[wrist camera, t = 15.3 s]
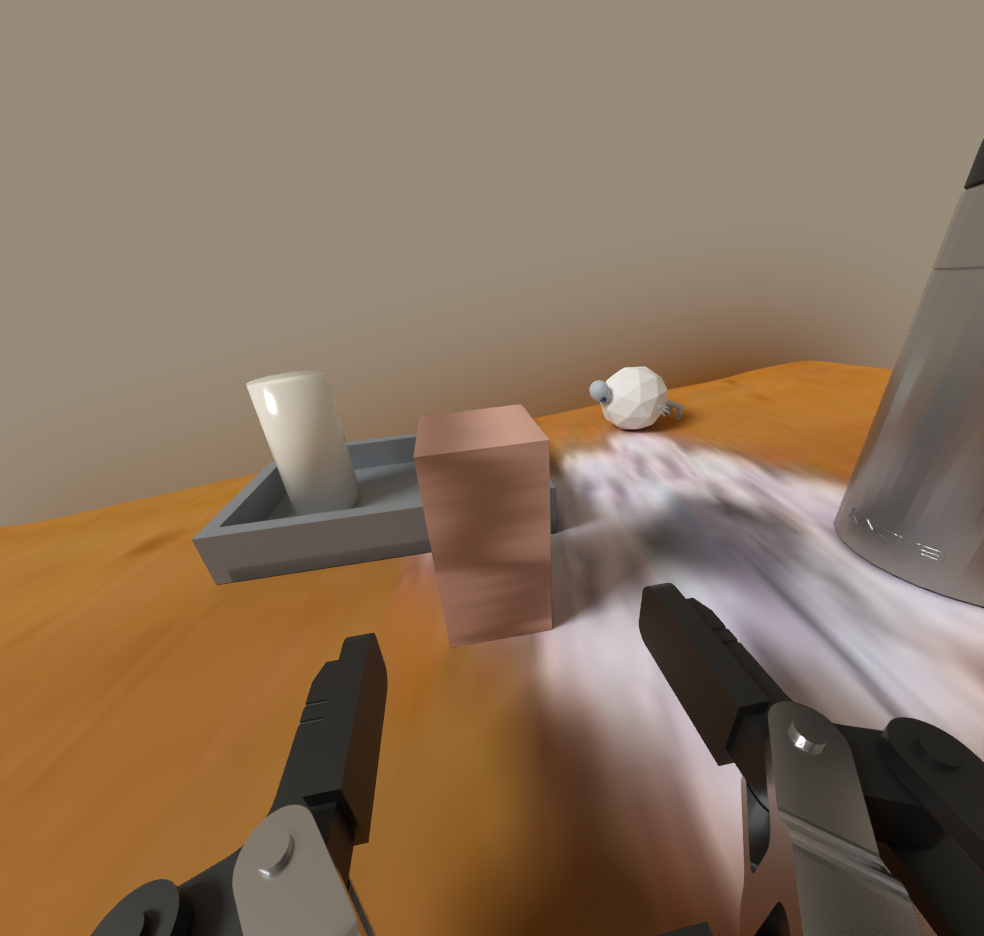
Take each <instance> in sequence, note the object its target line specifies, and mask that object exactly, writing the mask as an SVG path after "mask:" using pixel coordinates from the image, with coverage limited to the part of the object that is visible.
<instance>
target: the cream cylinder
mask: <svg viewBox="0 0 984 936" xmlns="http://www.w3.org/2000/svg"><path fill="white" fill-rule="evenodd" d="M246 386H247V388H248V391H249V393H250V396H251V399H252V402H253V404H254V407H255V409H256V412H257V415H258V417H259V420H260V423H261V425H262V428H263V431H264V433H265V436H266V439H267V441H268V444H269V447H270V449H271V452H272V454H273V457H274V460H275V462H276V465H277V468H278V470H279V473H280V476H281V478H282V481H283V484H284V486H285V489H286V492H287V494H288V497H289V499H290V502H291V505H292V507H293V510H294V513H295V515H296V516H303V515H310V514H317V513H325V512H332V511H339V510H346V509H352V508H353V507H354V506H355V505H357V504H358V502H359V501H360V499H361V493H360V489H359V485H358V482H357V478H356V474H355V471H354V467H353V464H352V460H351V456H350V453H349V449H348V446H347V442H346V438H345V435H344V431H343V427H342V424H341V420H340V417H339V413H338V409H337V406H336V402H335V398H334V395H333V391H332V388H331V384H330V380H329V377H328V373H327V371H325V370H306V371H296V372H289V373H282V374H277V375H272V376H268V377H263V378H259V379H256V380H253V381H250V382H248V383H247V384H246Z"/></svg>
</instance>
